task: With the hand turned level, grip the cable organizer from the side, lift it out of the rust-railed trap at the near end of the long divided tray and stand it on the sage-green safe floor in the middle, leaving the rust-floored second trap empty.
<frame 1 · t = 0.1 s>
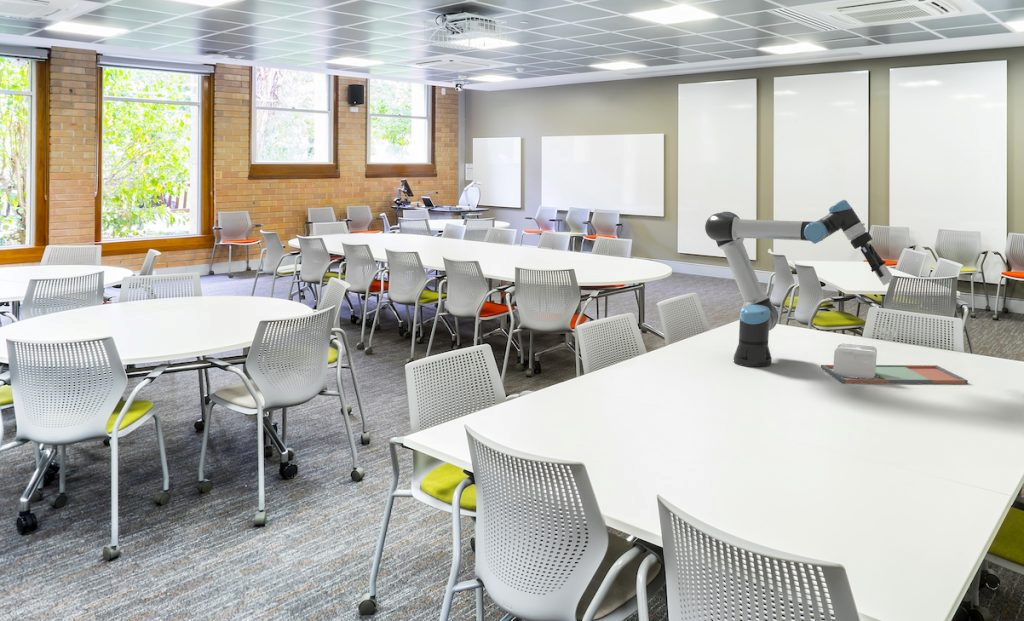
hand: (888, 281, 309), 36 cm above the table, tool tilted 35°, fingers open, 13 cm apart
cable organizer: (854, 376, 307), resting in divided tray
divided tray: (891, 375, 306), on the table
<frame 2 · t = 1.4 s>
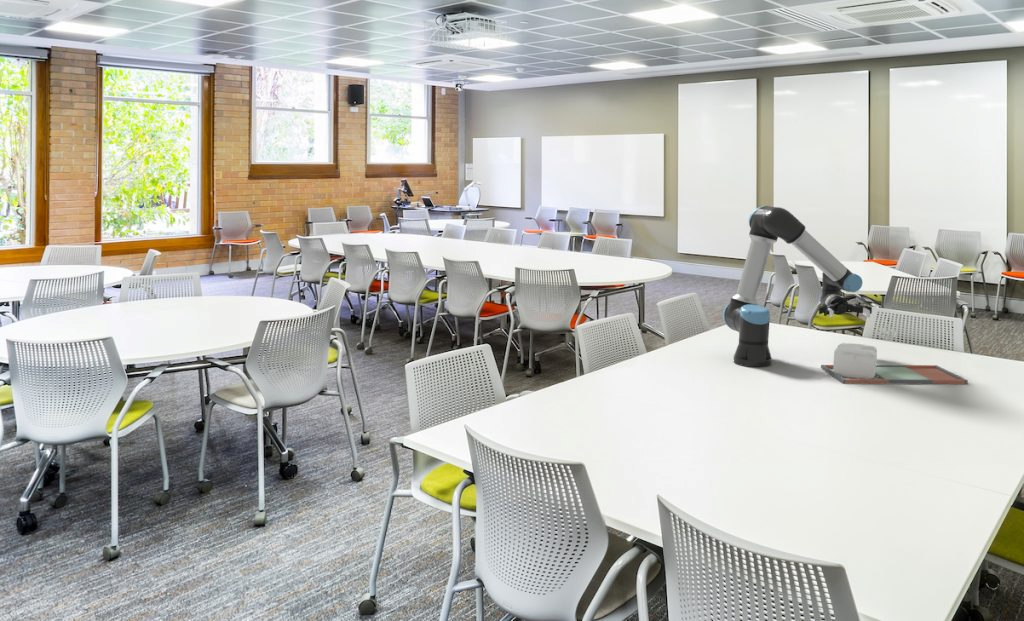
hand: (850, 314, 311), 23 cm above the table, tool horizontal, fingers open, 13 cm apart
nothing on the table moved.
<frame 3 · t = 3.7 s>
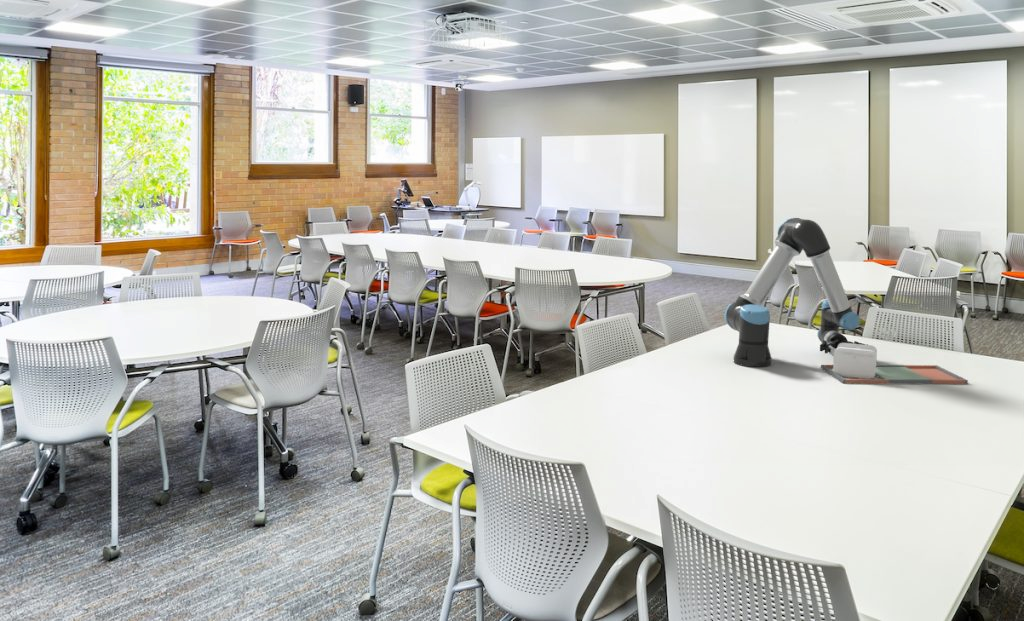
hand: (852, 352, 312), 7 cm above the table, tool horizontal, fingers open, 13 cm apart
nothing on the table moved.
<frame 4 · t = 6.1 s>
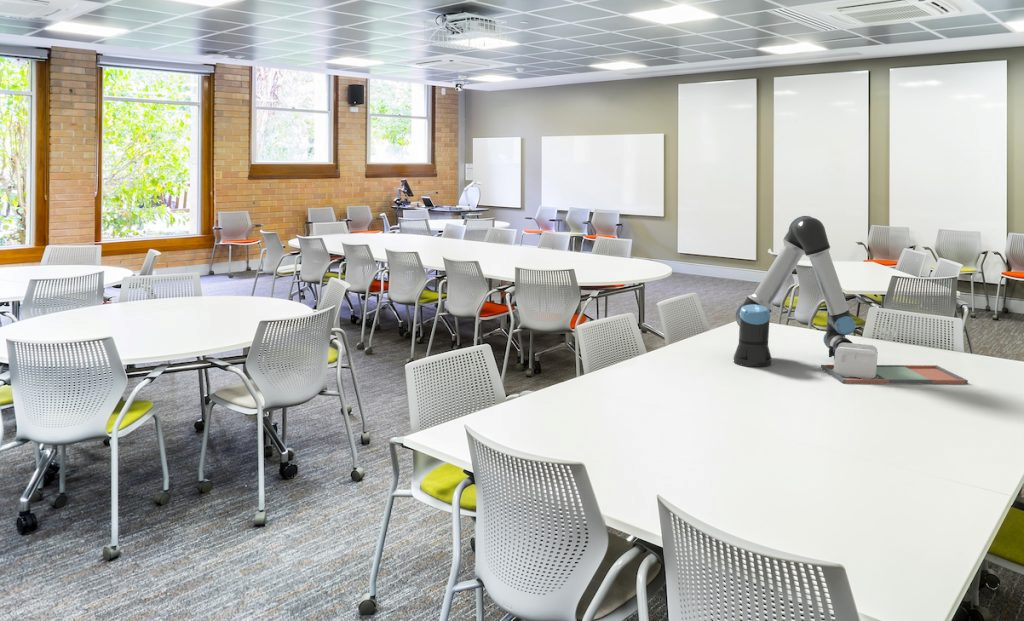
hand: (859, 359, 301), 8 cm above the table, tool horizontal, fingers closed on cable organizer, 11 cm apart
cable organizer: (855, 376, 307), resting in divided tray, touching gripper
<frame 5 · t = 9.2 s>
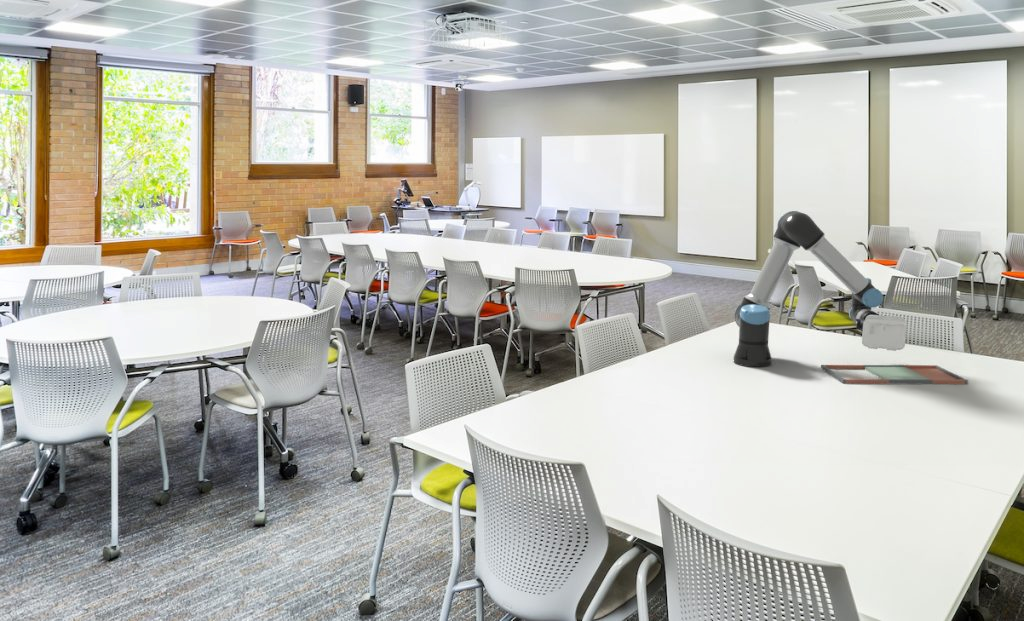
hand: (888, 330, 299), 19 cm above the table, tool horizontal, fingers closed on cable organizer, 11 cm apart
cable organizer: (883, 348, 304), point 11 cm above the table, touching gripper
when the fingers open (9 cm above the table, at t = 12.7 s): cable organizer stays where it is, resting on divided tray.
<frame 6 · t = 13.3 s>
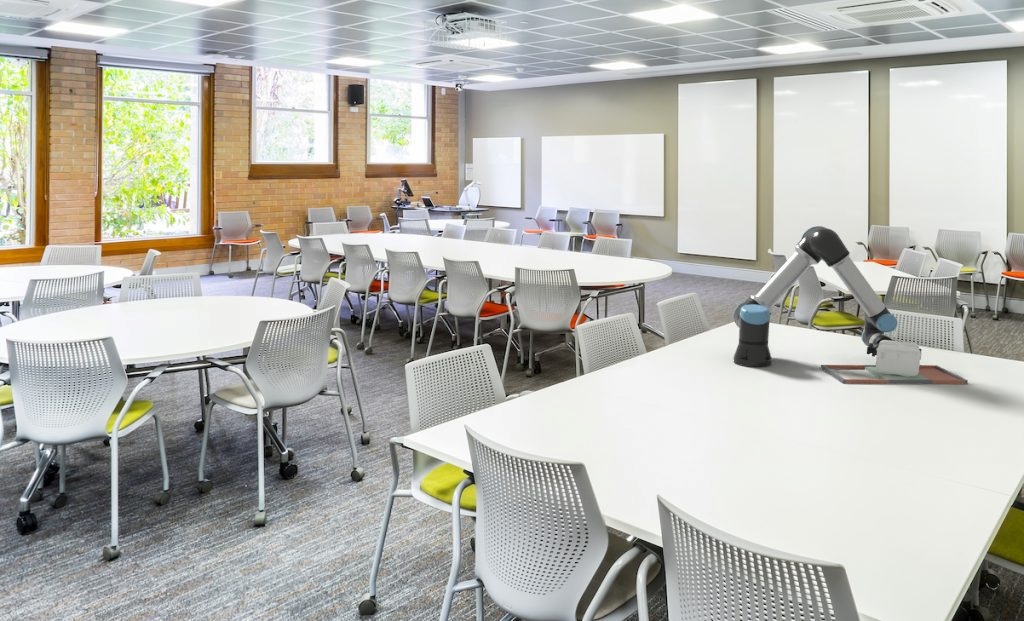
hand: (901, 356, 301), 9 cm above the table, tool horizontal, fingers open, 13 cm apart
cable organizer: (896, 373, 306), point 1 cm above the table, touching divided tray
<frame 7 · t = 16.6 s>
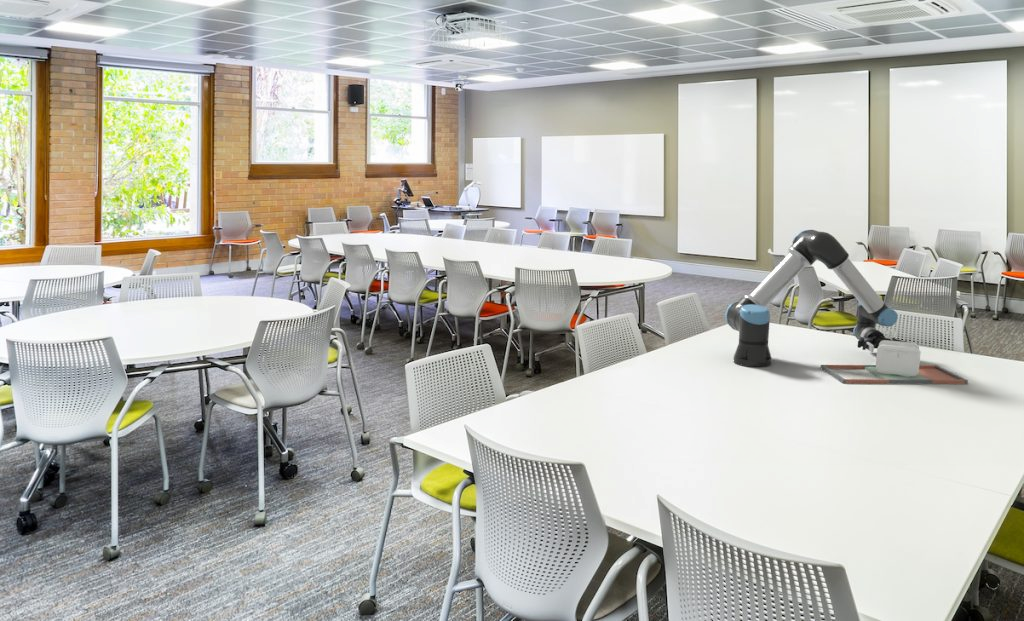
hand: (890, 349, 313), 9 cm above the table, tool horizontal, fingers open, 13 cm apart
nothing on the table moved.
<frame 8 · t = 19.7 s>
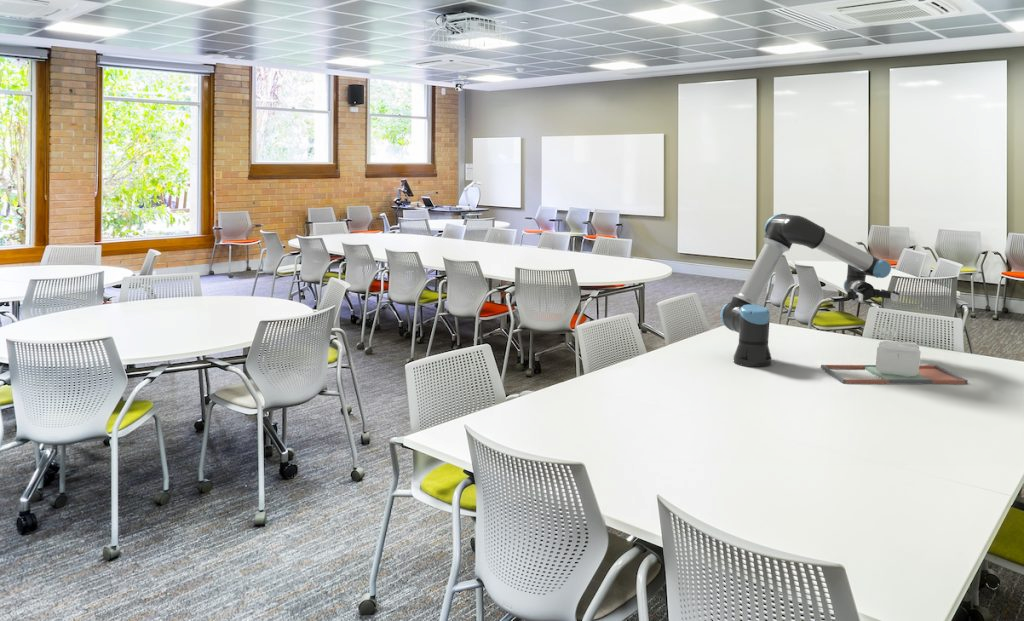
hand: (879, 298, 316), 28 cm above the table, tool horizontal, fingers open, 13 cm apart
nothing on the table moved.
at the end: cable organizer inside the target area on the divided tray (0.1 cm from its centre), point 0.8 cm above the divided tray's base; cable organizer tilted 0°; the gripper is holding nothing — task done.
